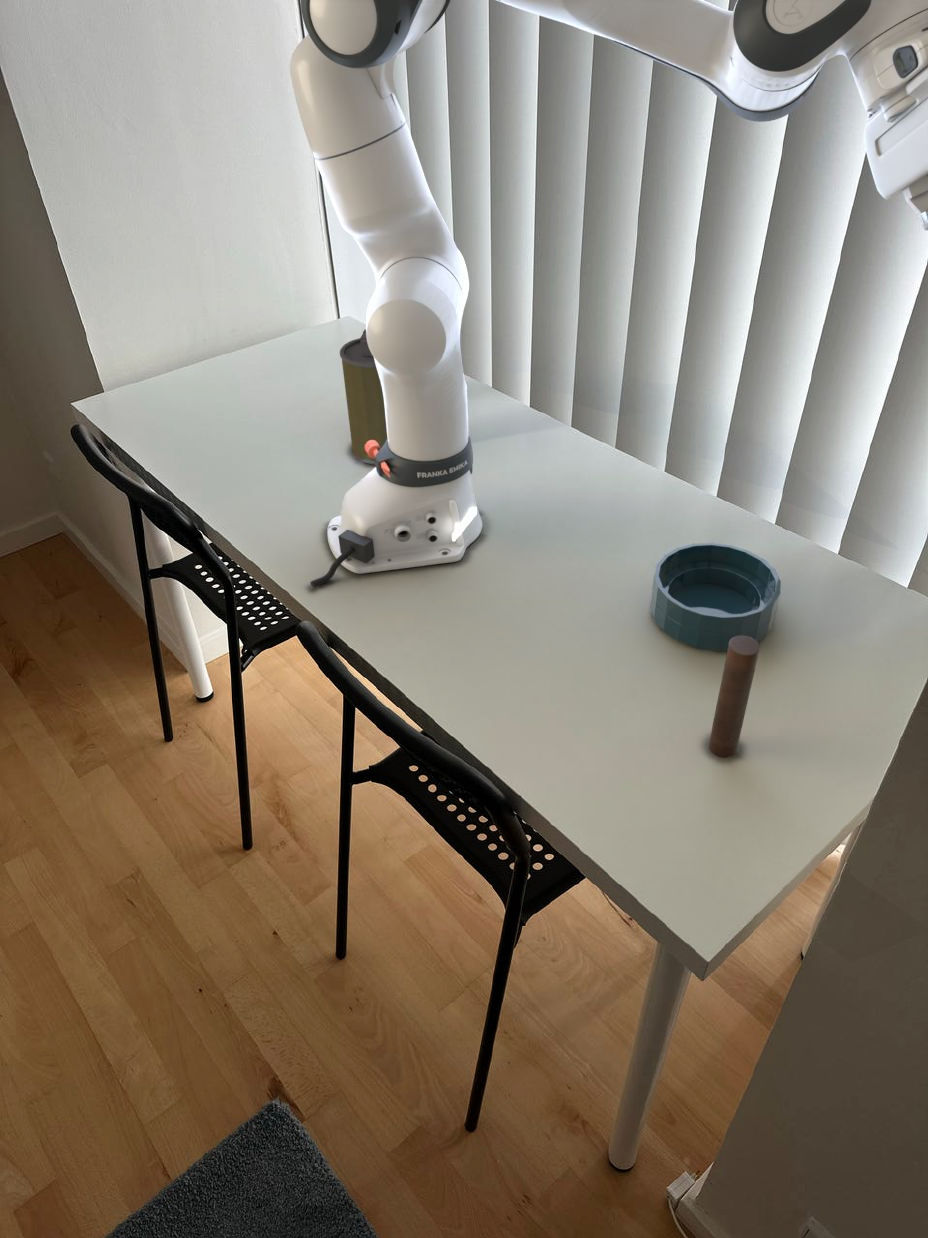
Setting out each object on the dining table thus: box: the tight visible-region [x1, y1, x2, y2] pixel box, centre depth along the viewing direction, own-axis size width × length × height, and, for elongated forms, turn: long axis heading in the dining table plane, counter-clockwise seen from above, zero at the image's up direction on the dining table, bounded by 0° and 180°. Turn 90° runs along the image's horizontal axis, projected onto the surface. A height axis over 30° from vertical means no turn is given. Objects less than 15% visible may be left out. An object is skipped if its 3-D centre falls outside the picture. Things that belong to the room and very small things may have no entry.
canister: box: [339, 328, 388, 466], centre depth 150 cm, size 11×10×20 cm
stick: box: [708, 636, 761, 758], centre depth 99 cm, size 3×3×15 cm
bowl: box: [649, 542, 782, 652], centre depth 119 cm, size 15×15×6 cm
